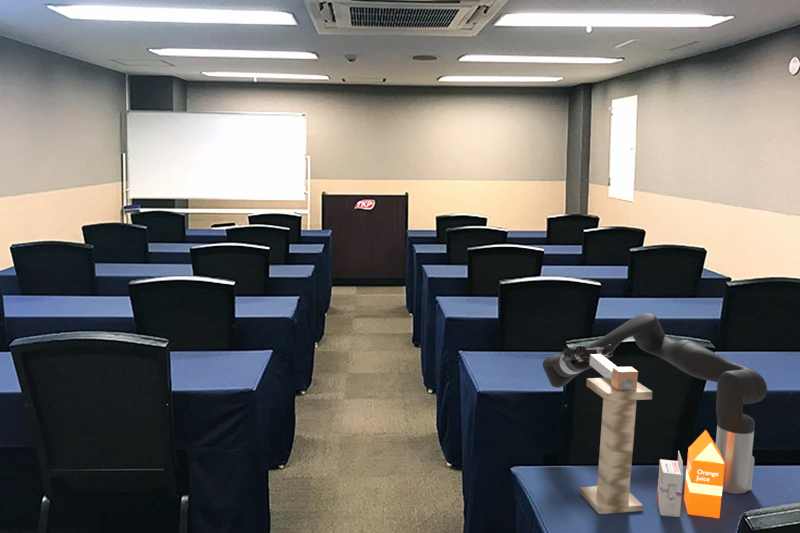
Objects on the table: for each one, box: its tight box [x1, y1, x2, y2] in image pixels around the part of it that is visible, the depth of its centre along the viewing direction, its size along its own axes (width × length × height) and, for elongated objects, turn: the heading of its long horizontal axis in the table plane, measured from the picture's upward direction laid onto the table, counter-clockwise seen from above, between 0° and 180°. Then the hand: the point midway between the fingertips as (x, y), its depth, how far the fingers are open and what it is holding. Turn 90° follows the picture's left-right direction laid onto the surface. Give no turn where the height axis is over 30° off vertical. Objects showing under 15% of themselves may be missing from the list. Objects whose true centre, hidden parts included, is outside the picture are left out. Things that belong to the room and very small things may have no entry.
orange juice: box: [683, 429, 725, 519], centre depth 195 cm, size 8×9×20 cm
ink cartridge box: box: [656, 450, 684, 518], centre depth 195 cm, size 9×5×15 cm, turn 168°
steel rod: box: [590, 354, 639, 391], centre depth 200 cm, size 5×22×5 cm, turn 7°
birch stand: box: [578, 377, 653, 515], centre depth 197 cm, size 12×12×32 cm
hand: (596, 348), depth 219 cm, fingers open, 8 cm apart
